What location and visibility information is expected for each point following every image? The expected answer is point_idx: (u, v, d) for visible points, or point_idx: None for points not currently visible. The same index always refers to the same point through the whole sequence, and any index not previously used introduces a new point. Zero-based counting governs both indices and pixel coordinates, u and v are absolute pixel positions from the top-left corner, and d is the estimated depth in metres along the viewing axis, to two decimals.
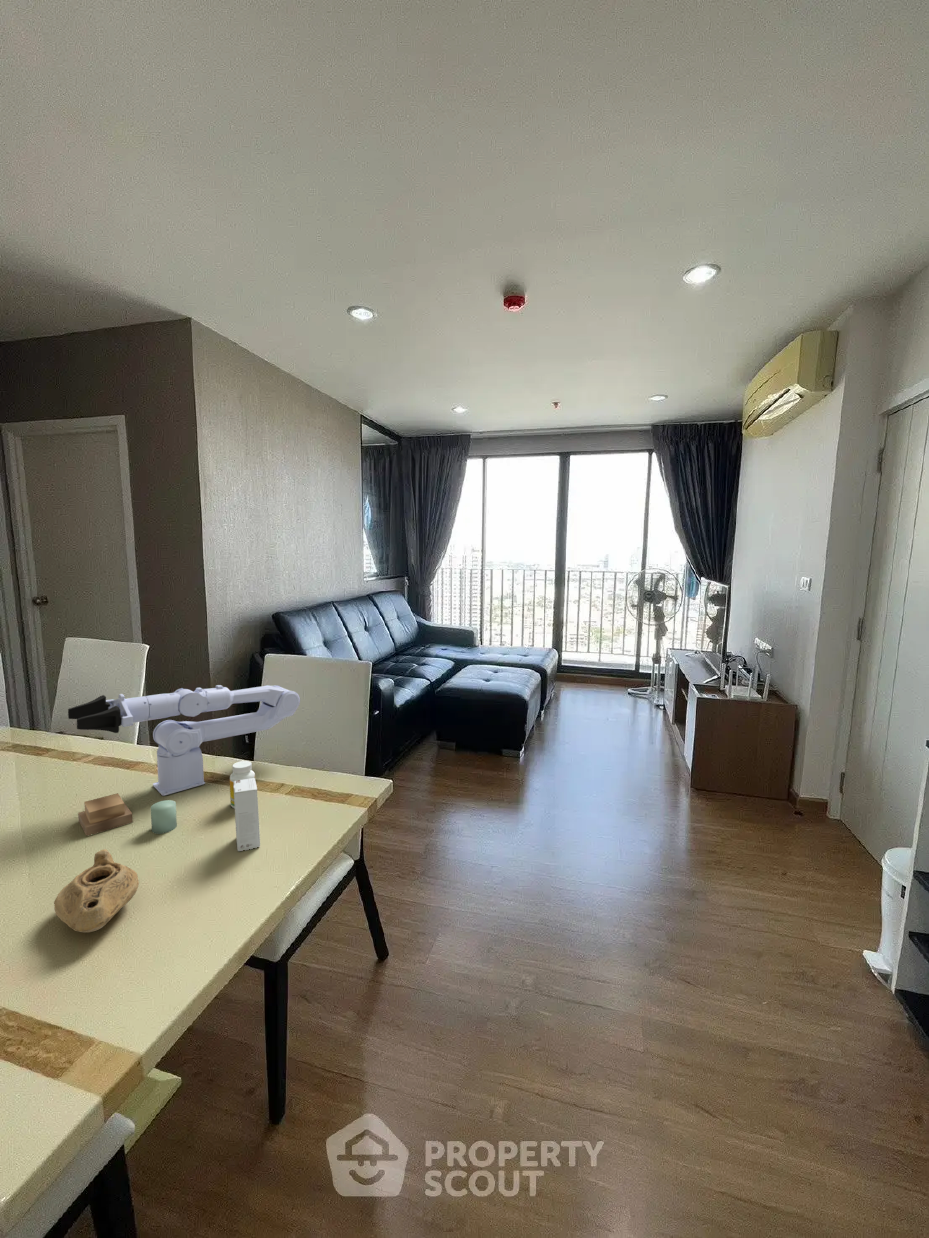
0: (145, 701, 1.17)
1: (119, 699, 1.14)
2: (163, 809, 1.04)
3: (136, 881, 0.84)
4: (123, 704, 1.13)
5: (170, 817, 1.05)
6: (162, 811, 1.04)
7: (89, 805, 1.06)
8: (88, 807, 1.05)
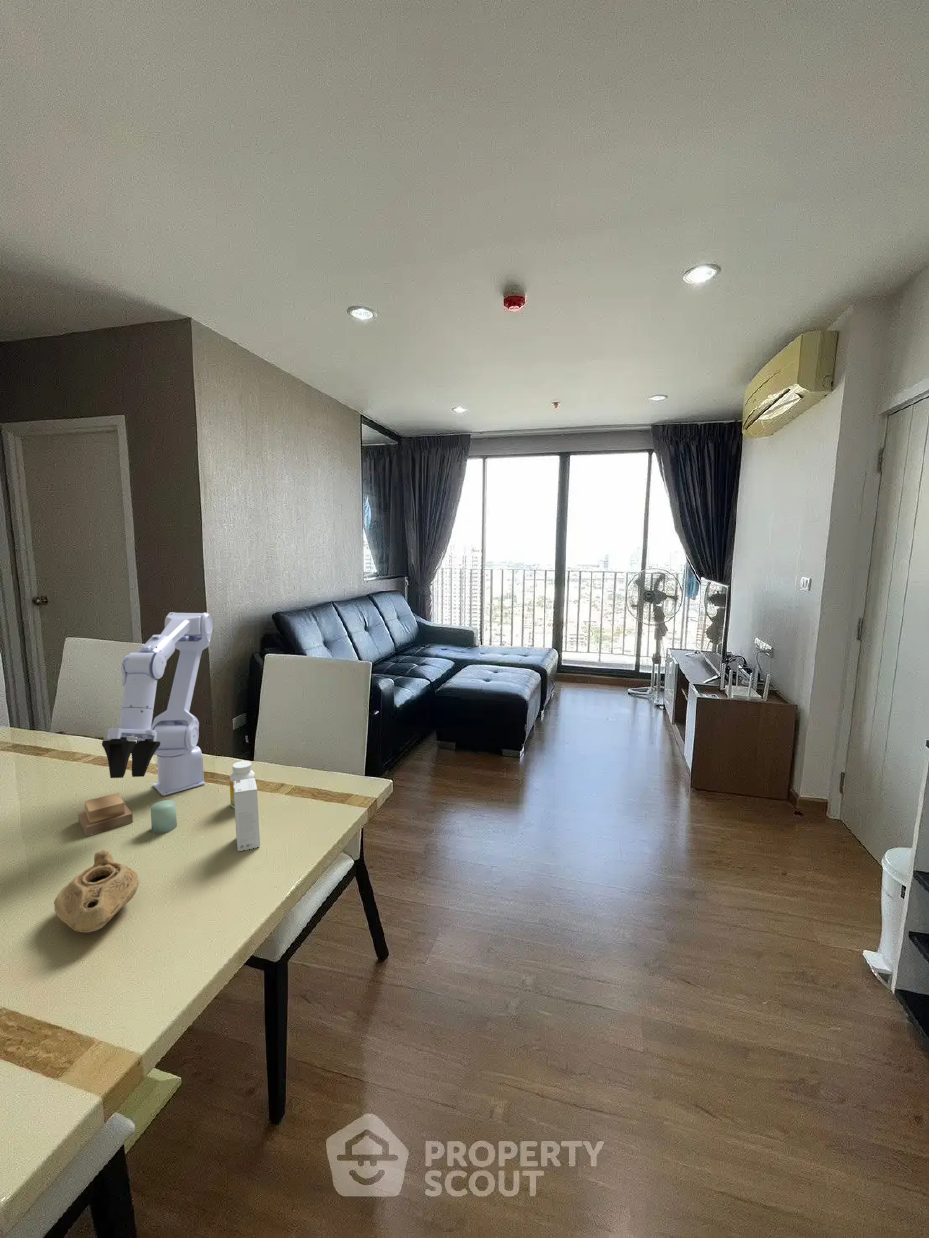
0: None
1: (149, 734, 1.05)
2: (163, 809, 1.04)
3: (136, 881, 0.84)
4: (152, 733, 1.08)
5: (170, 817, 1.05)
6: (162, 811, 1.04)
7: (90, 804, 1.07)
8: (88, 806, 1.06)
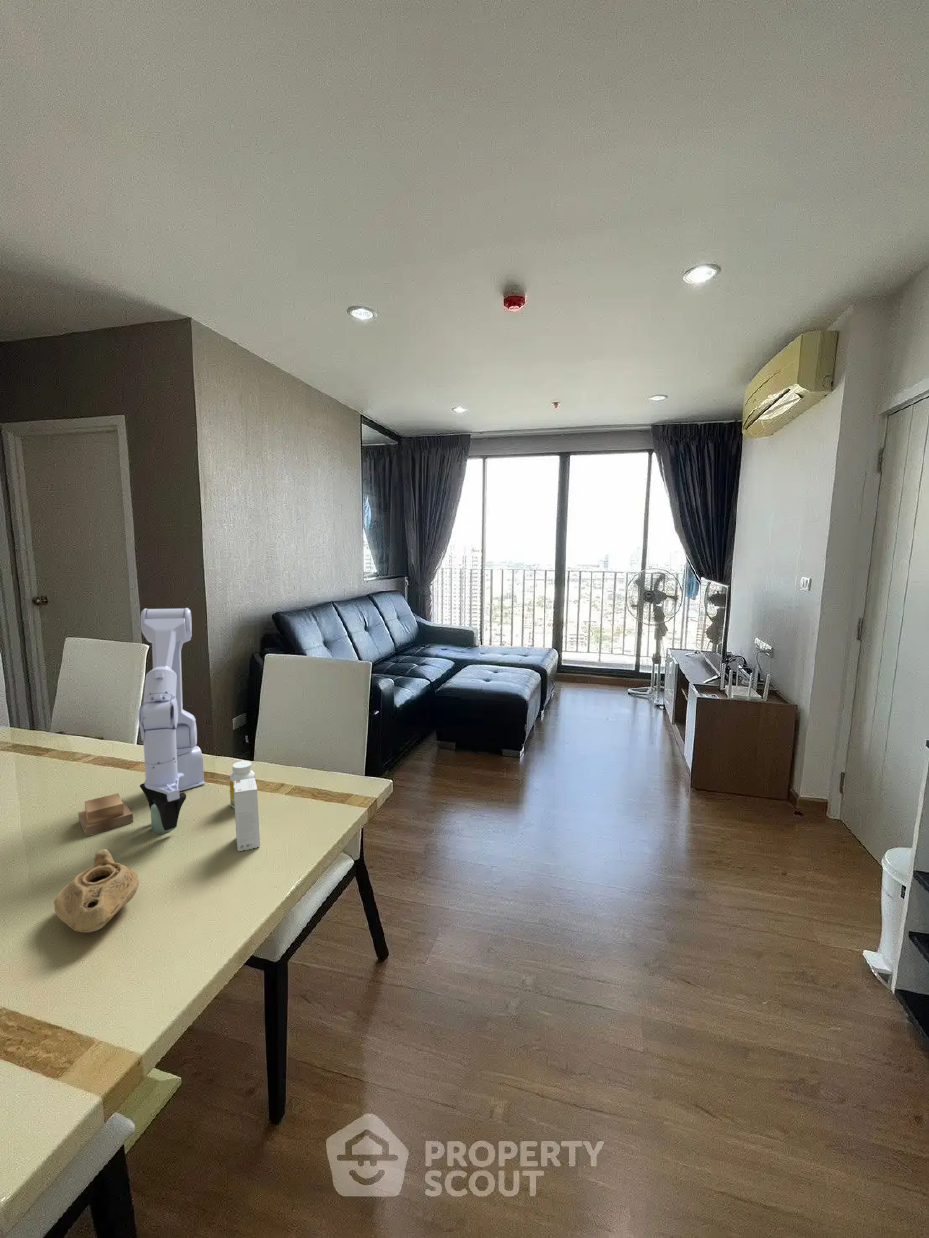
0: None
1: None
2: None
3: (136, 881, 0.84)
4: None
5: None
6: None
7: (89, 804, 1.06)
8: (87, 807, 1.06)
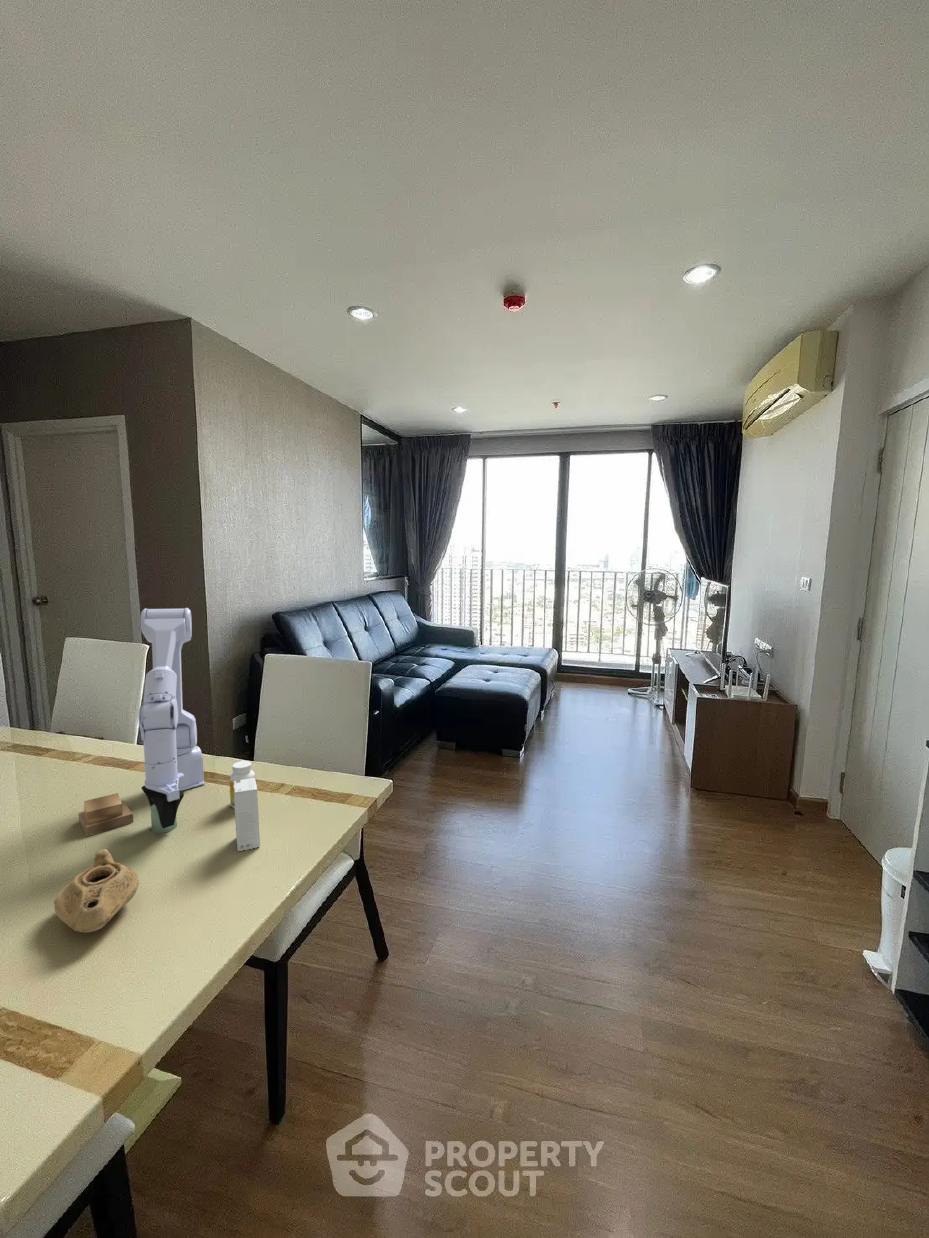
0: None
1: None
2: None
3: (136, 881, 0.84)
4: None
5: None
6: None
7: (88, 804, 1.07)
8: (86, 807, 1.06)
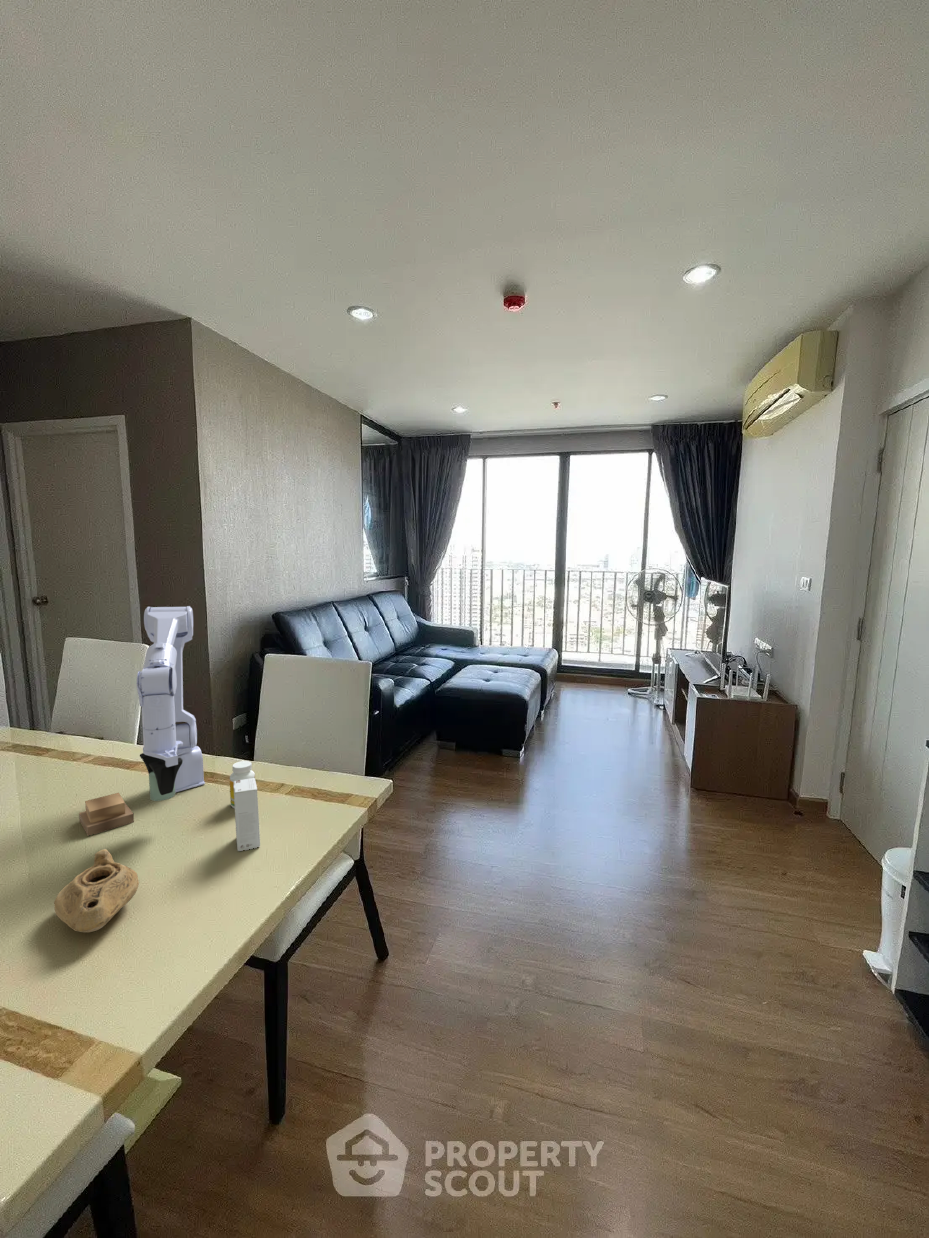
0: None
1: None
2: None
3: (136, 881, 0.84)
4: None
5: None
6: None
7: (90, 804, 1.07)
8: (89, 806, 1.06)
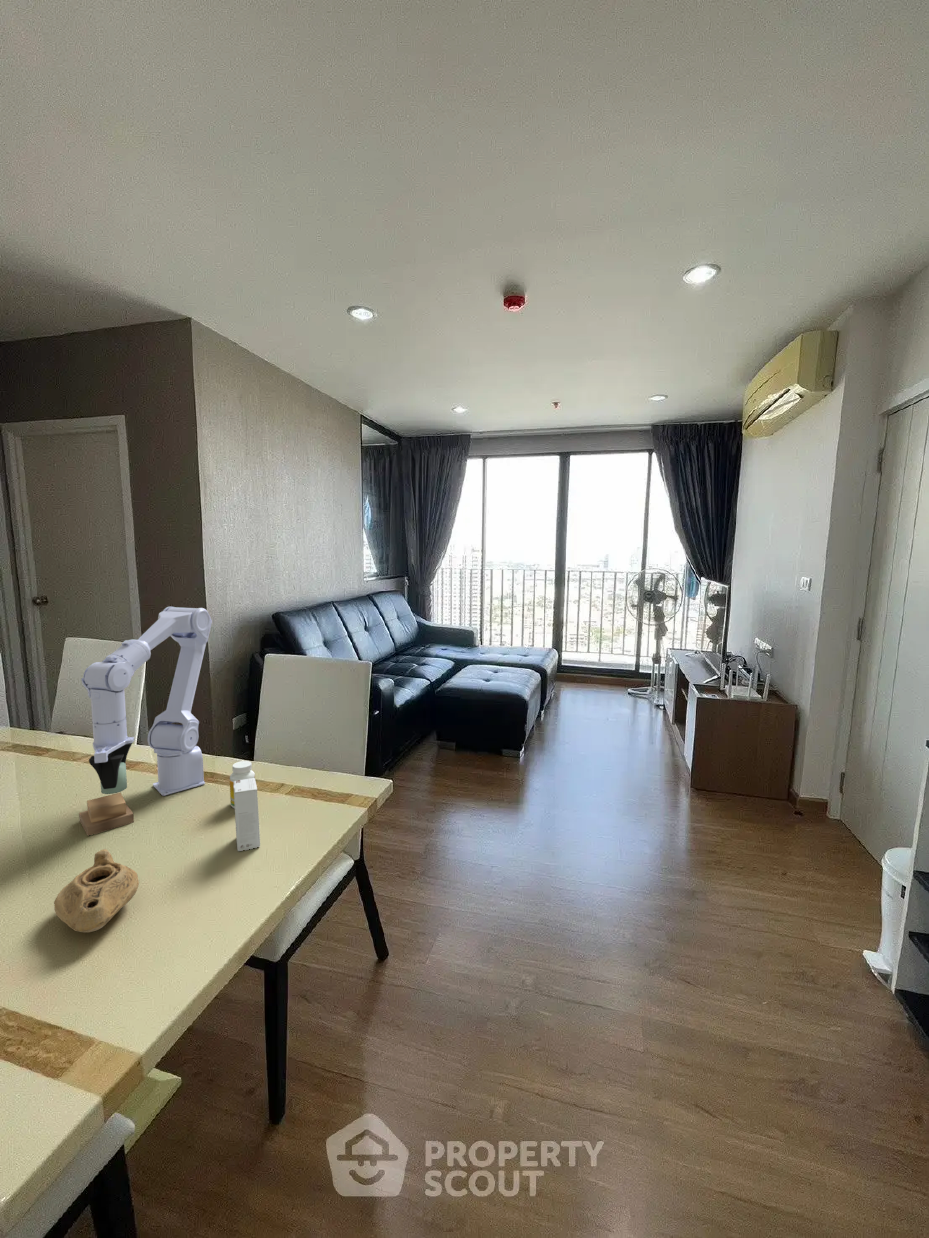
0: None
1: None
2: None
3: (136, 881, 0.84)
4: None
5: None
6: None
7: (91, 804, 1.07)
8: (90, 806, 1.06)
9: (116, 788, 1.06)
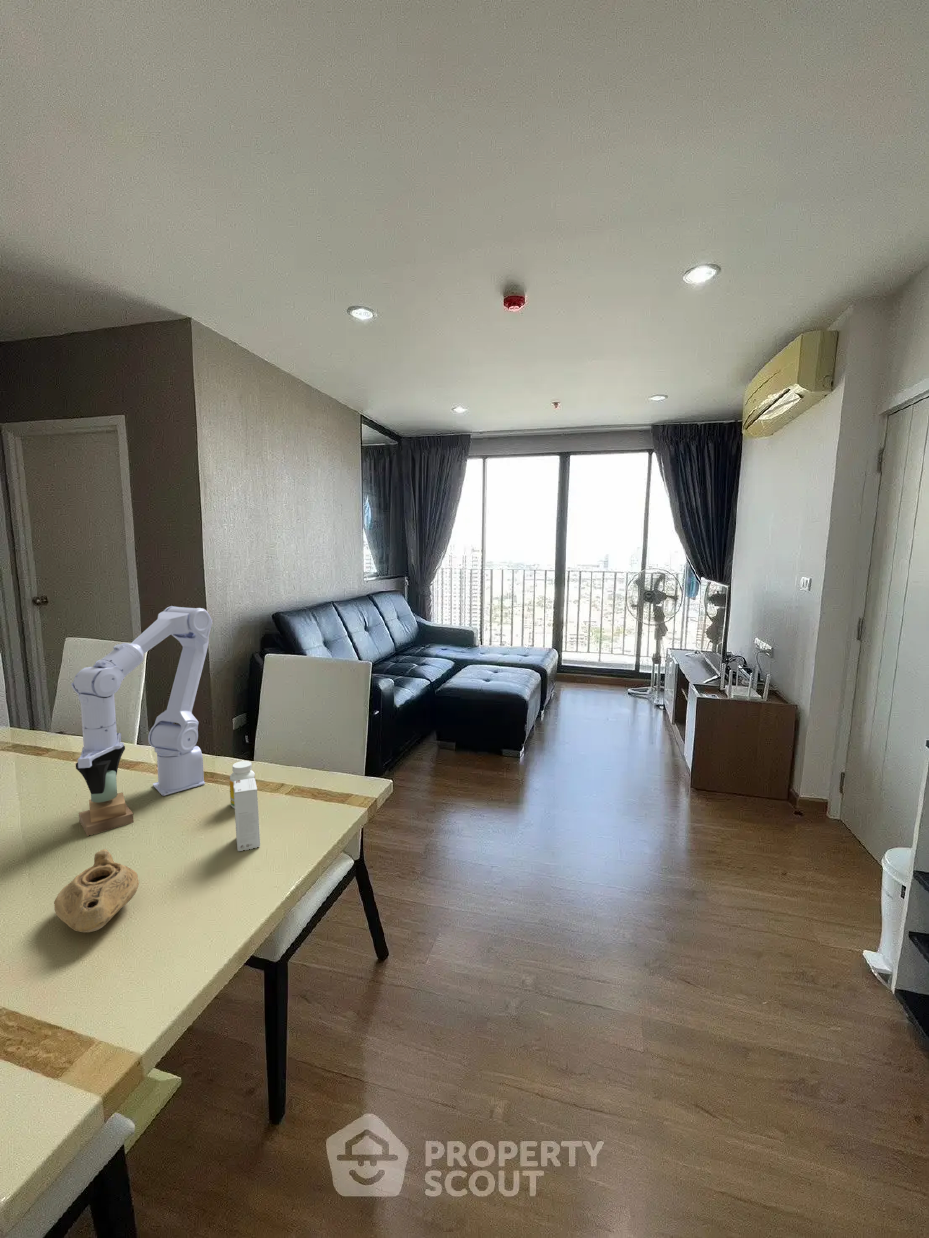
0: None
1: None
2: None
3: (136, 881, 0.84)
4: None
5: None
6: None
7: (92, 803, 1.07)
8: (91, 805, 1.06)
9: (104, 797, 1.06)
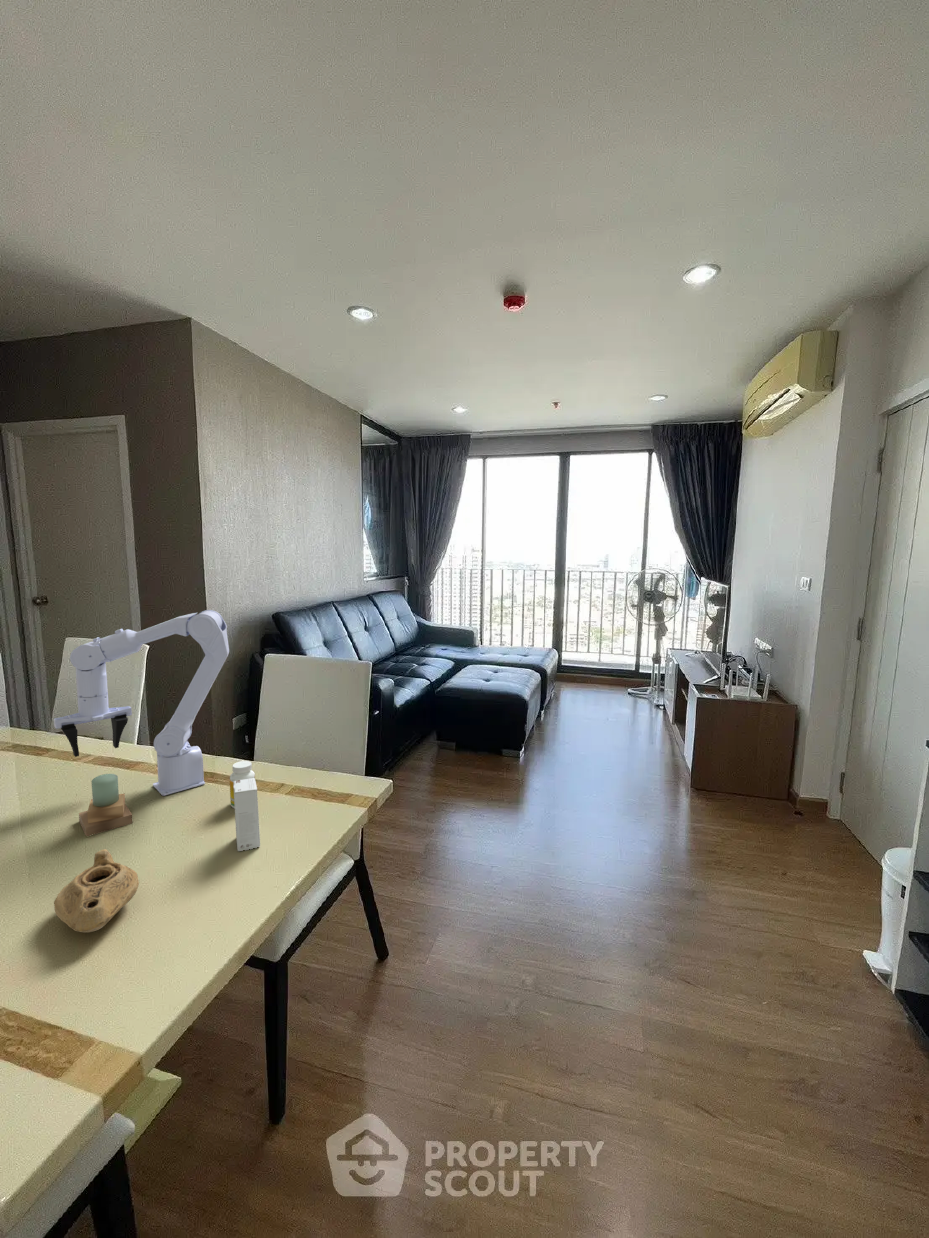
0: (104, 696, 1.18)
1: None
2: (97, 784, 1.05)
3: (136, 881, 0.84)
4: (108, 715, 1.18)
5: (102, 793, 1.05)
6: (95, 785, 1.05)
7: (92, 803, 1.07)
8: (90, 806, 1.06)
9: (106, 802, 1.06)
